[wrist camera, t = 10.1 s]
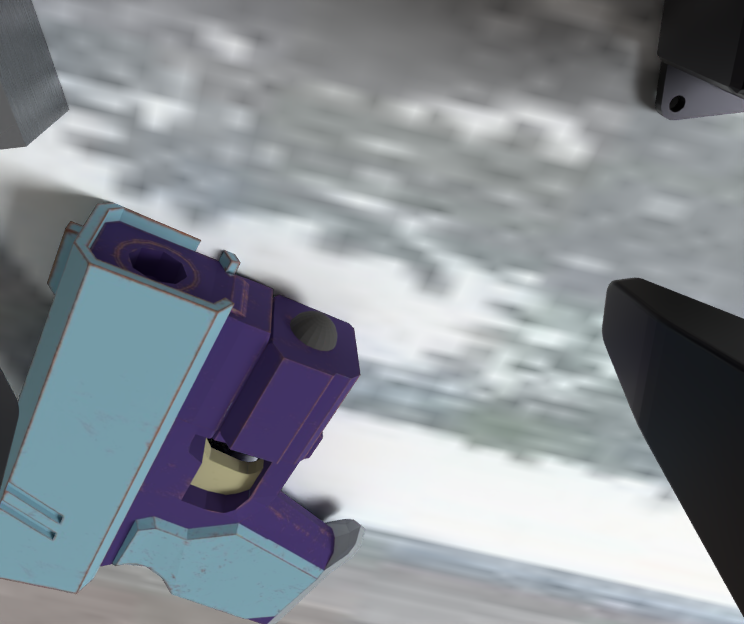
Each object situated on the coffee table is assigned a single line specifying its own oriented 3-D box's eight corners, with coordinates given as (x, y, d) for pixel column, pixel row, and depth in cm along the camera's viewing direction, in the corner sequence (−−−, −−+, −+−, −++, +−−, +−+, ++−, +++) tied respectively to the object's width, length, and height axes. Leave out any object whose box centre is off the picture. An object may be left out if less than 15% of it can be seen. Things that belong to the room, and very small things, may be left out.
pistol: (302, 570, 32) (-17, 493, 27) (470, 347, 26) (89, 188, 20) (303, 651, 29) (-61, 580, 24) (498, 417, 22) (48, 247, 17)
